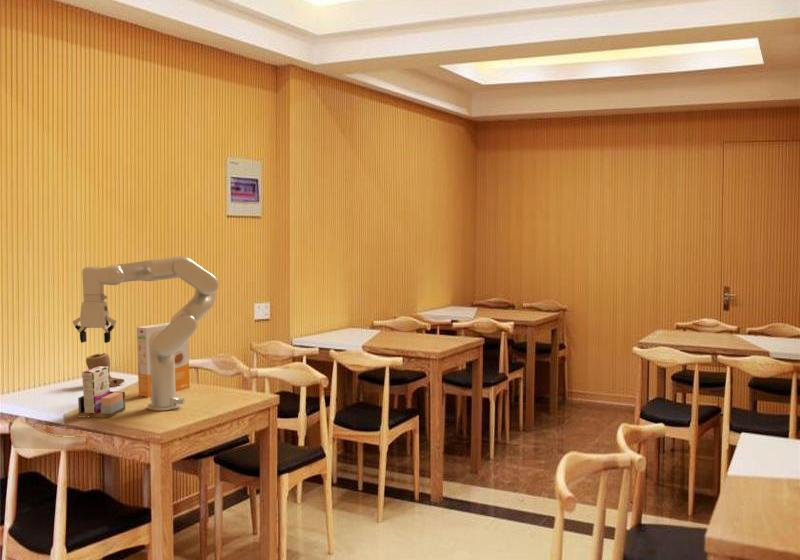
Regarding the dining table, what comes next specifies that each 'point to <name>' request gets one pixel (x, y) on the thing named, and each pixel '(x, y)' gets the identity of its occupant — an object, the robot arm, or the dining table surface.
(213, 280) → the robot arm
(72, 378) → the dining table surface
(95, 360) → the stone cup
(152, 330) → the cereal box
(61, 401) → the dining table surface
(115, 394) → the book rack
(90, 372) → the candy bar box
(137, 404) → the dining table surface
